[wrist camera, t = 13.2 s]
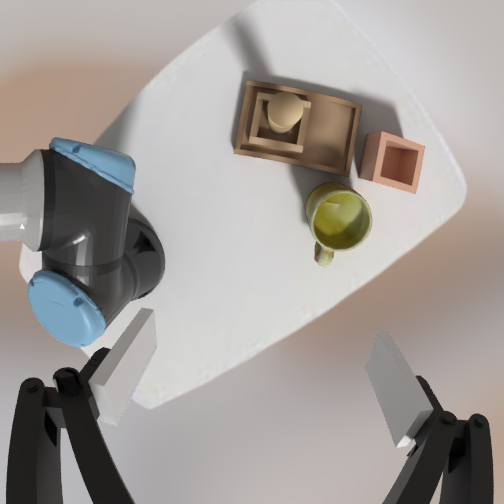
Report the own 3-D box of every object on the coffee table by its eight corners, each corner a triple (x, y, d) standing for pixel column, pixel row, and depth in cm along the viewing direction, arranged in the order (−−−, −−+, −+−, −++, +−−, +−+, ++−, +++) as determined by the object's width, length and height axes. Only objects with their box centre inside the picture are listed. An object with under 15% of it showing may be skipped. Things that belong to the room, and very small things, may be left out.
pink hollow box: (358, 177, 45) (372, 181, 38) (366, 134, 43) (381, 131, 36) (397, 188, 45) (415, 194, 38) (405, 147, 43) (425, 146, 36)
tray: (235, 153, 45) (232, 153, 42) (248, 83, 41) (246, 78, 38) (345, 176, 45) (350, 177, 42) (357, 106, 41) (363, 103, 38)
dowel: (266, 132, 43) (264, 121, 28) (270, 110, 41) (270, 89, 26) (289, 136, 43) (300, 128, 28) (293, 114, 41) (306, 95, 26)
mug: (317, 159, 43) (342, 186, 35) (363, 189, 47) (392, 219, 39) (276, 221, 49) (289, 258, 41) (323, 243, 52) (342, 279, 44)
